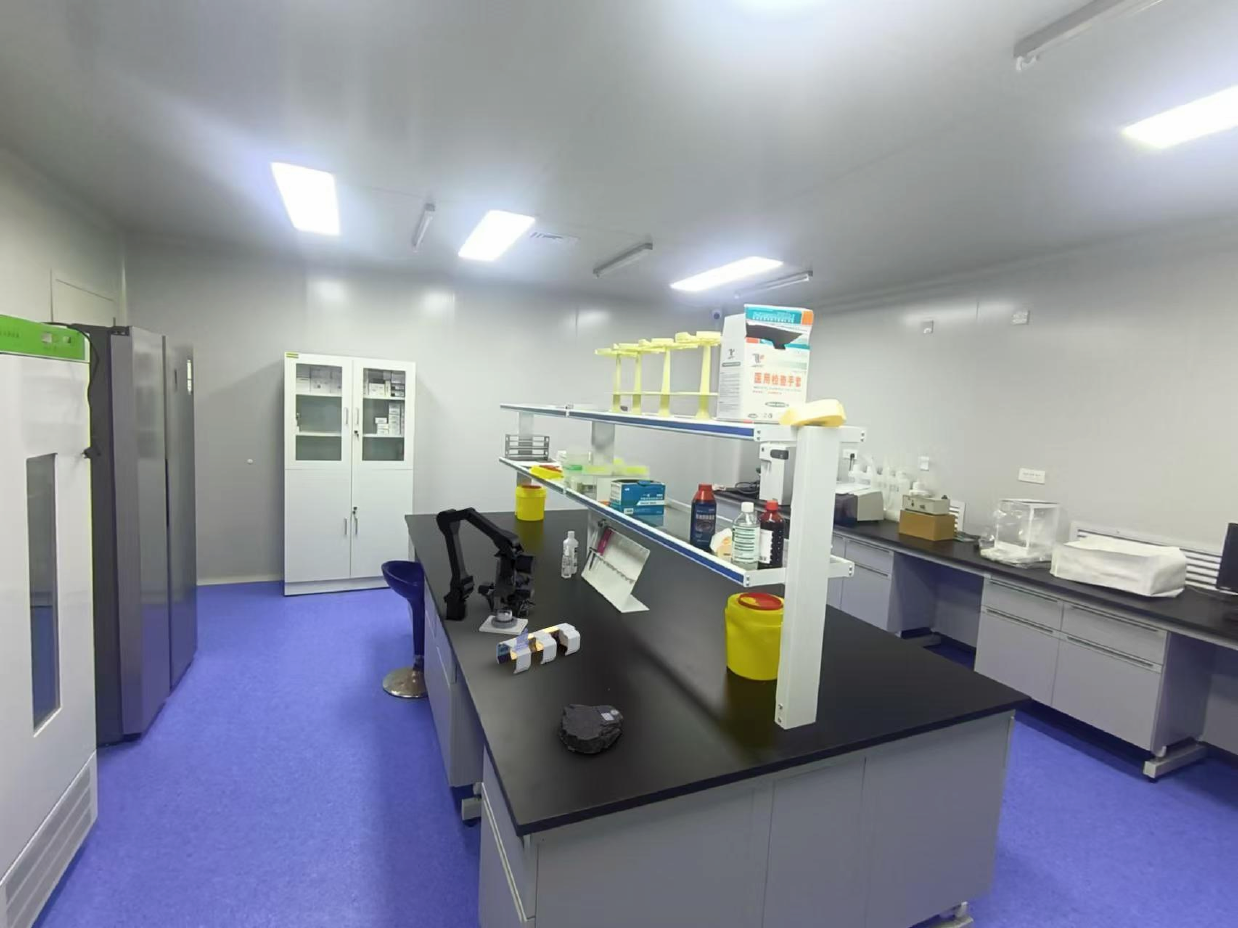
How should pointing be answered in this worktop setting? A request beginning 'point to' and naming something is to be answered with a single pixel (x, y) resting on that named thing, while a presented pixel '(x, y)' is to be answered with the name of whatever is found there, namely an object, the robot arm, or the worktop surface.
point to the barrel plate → (505, 631)
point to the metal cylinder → (504, 615)
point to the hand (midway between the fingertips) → (505, 613)
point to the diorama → (538, 645)
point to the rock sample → (590, 726)
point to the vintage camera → (513, 598)
